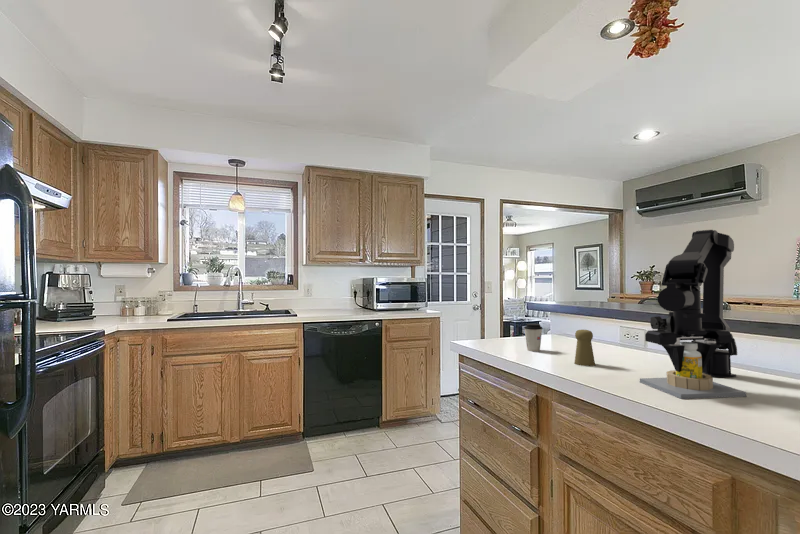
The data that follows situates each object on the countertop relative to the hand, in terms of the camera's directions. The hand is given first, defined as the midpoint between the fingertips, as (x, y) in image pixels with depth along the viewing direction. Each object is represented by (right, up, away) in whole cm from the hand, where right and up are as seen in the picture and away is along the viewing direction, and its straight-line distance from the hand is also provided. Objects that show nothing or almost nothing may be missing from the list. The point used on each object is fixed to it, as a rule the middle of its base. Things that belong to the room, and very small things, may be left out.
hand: (688, 371), depth 97 cm
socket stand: (0, -4, 0) cm, 4 cm away
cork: (-13, -6, +28) cm, 31 cm away
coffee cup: (-21, -6, +52) cm, 56 cm away
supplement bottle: (0, -3, 0) cm, 3 cm away
